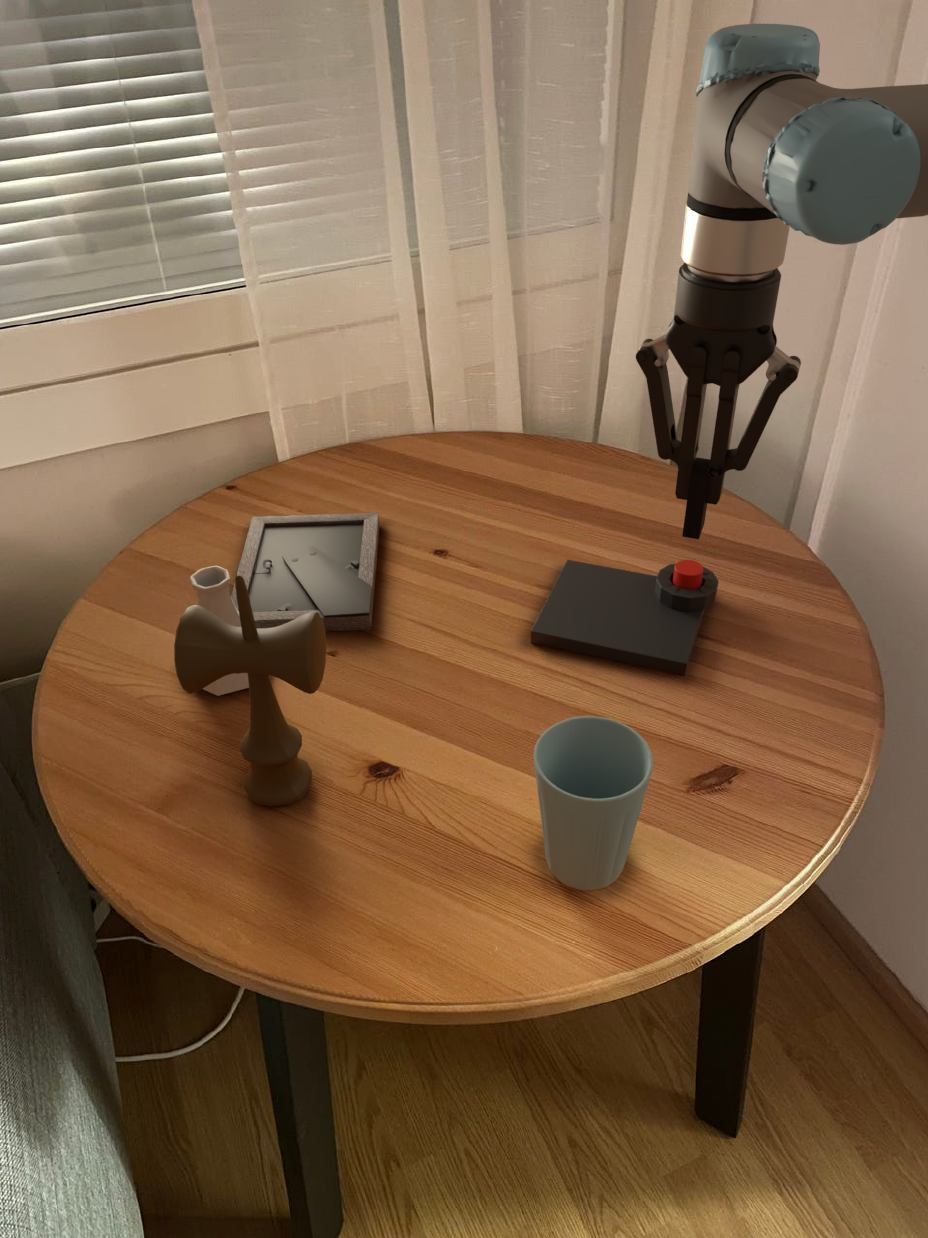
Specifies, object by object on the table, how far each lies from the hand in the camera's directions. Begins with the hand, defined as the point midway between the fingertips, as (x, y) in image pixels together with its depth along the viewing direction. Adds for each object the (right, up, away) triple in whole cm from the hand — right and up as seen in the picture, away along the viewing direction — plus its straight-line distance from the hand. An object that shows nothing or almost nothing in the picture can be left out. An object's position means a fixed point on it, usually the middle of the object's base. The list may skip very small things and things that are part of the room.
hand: (693, 529), depth 90 cm
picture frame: (-36, -4, +10) cm, 38 cm away
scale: (-6, -8, +3) cm, 11 cm away
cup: (-12, -25, -18) cm, 33 cm away
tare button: (0, -5, +3) cm, 6 cm away
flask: (-41, -13, -1) cm, 43 cm away
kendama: (-35, -21, -12) cm, 42 cm away
